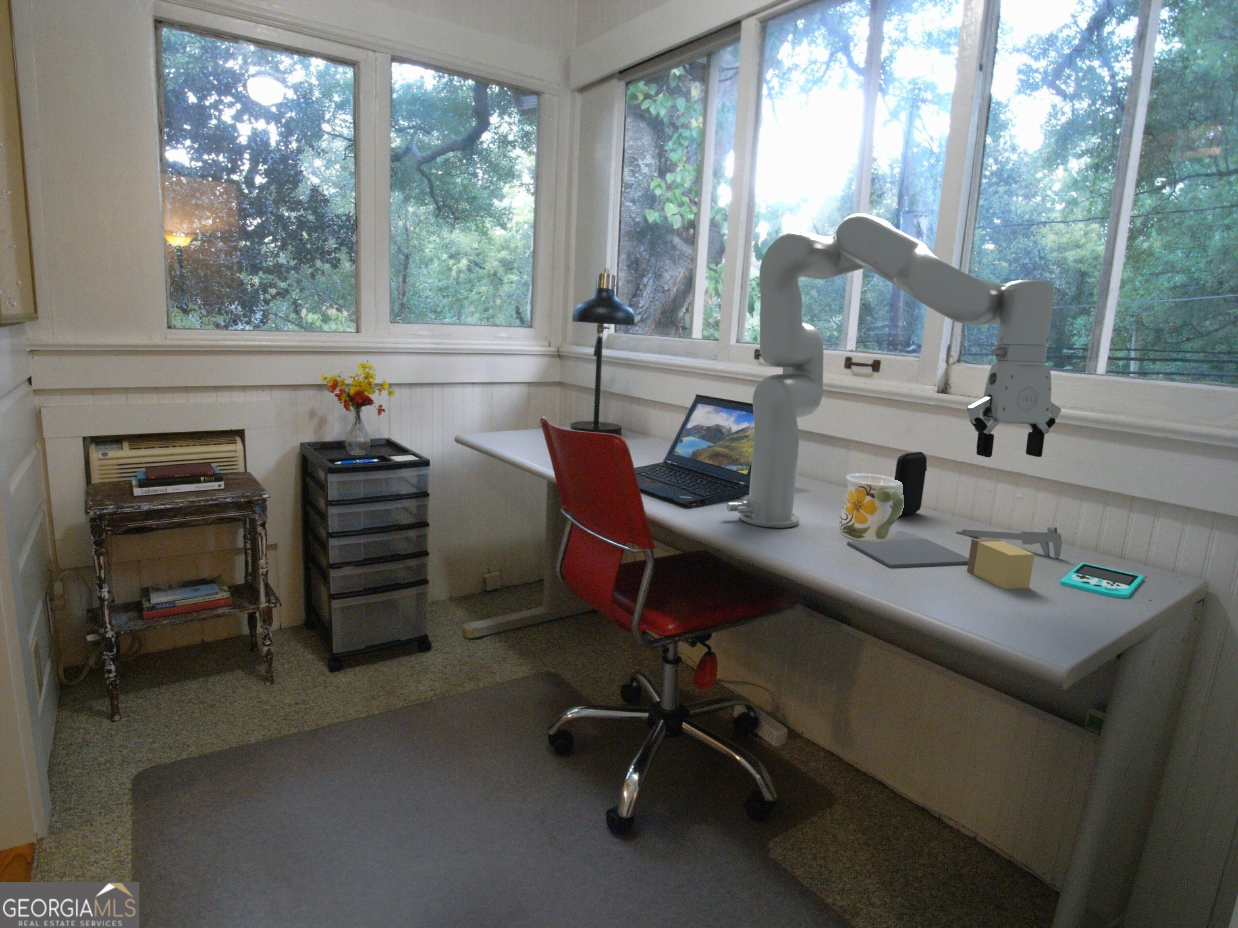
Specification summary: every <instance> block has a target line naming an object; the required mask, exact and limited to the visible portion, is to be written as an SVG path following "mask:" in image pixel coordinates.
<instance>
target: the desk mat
mask: <svg viewBox="0 0 1238 928" xmlns="http://www.w3.org/2000/svg"><path fill="white" fill-rule="evenodd" d="M889 540H890V541H887V542H870V541H871V540H854V541H853V540H852V541H851V540H850V541H847V543H846V544H847V545H848V546H850V547H851V548H853V549H855V550H857V551H859V552H860V553H862V554H864V555H866V556H868V557H870V558H871V559H873V560H875V561H877V562H879V563H880V564H883V565H884V566H886V567H888V568H889V569H892V568H893V569H894V568H913V567H914V568H916V567H917V568H918V567H934V566H935V567H937V566H938V567H939V566H940V567H941V566H956V565H968V561H969V556H968V557H967V556H966V555H963V554H961V553H958V552H957V551H956V552H955V551H954V550H952V549H950V548H948V547H945V546H943V545H941V544H939V543H937V542H934V541H933V540H931V539H930V540H929V539H927V538H909V539H908V538H907V539H903V538H902V539H889Z"/></svg>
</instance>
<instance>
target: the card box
mask: <svg viewBox="0 0 1238 928" xmlns="http://www.w3.org/2000/svg"><path fill="white" fill-rule="evenodd" d="M969 548H970V549H969V554H968V555H969V556H968V558H969V561H968V564H967V568H966V572H967V573H969V574H971V575H974V576H976V577H978V578H980V579H983V580H985V581H987V582H989V583H991V584H993V585H995V586H997V587H998V588H1001V589H1004V590H1017V589H1029V588H1030V585H1031V578H1032V573H1033V567H1034V561H1035V553H1033V552H1031V551H1028V550H1025V549H1023V548H1021V547H1018V546H1015V545H1013V544H1010V543H1008V542H1005V541H1003V539H999V538H986V537H980V538H971V542H970V547H969Z"/></svg>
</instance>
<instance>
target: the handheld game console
mask: <svg viewBox="0 0 1238 928" xmlns="http://www.w3.org/2000/svg"><path fill="white" fill-rule="evenodd" d="M1143 580H1144V576H1143V575H1140V574H1135V573H1131V572H1126V571H1123V570H1118V569H1113V568H1108V567H1104V566H1100V565H1096V564H1095V565H1094V564H1090V563H1088V562H1087V563H1086V562H1080V564H1078V565H1077V566H1076V567H1075V568H1073V569H1072V570H1071V571H1070V572H1069V573H1067V574H1066V575H1065V576H1064V577H1063V578H1062V579H1061V580H1059V585H1061V586H1065V587H1069V588H1073V589H1077V590H1080V591H1086V592H1089V593H1093V594H1098V595H1100V596H1101V595H1102V596H1106V597H1111V598H1117V597H1118V599H1128V598H1129V597H1131V595H1132V594H1133V592H1134V591H1135V590H1136V589H1138V586H1139V585H1140V584H1141V583H1142V582H1143Z"/></svg>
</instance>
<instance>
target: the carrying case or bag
mask: <svg viewBox="0 0 1238 928" xmlns="http://www.w3.org/2000/svg"><path fill="white" fill-rule="evenodd" d="M927 461H928V460H927V456H926V454H924V452H922V451H913V452H906V453H905V452H904V453H903V454H901V455H900V456H898V458H897V459H896V466H895V473H894V480H898V481H900V482H902V484H903V495H904V508H903V511H902V514H901V516H900V517H903V515H904V516H908V515H914V514H915V513H917V512H919V511H920V510H921V507H922V502H923V495H924V488H925V479H926V472H927V471H928V467H927V466H928V465H927Z"/></svg>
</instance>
